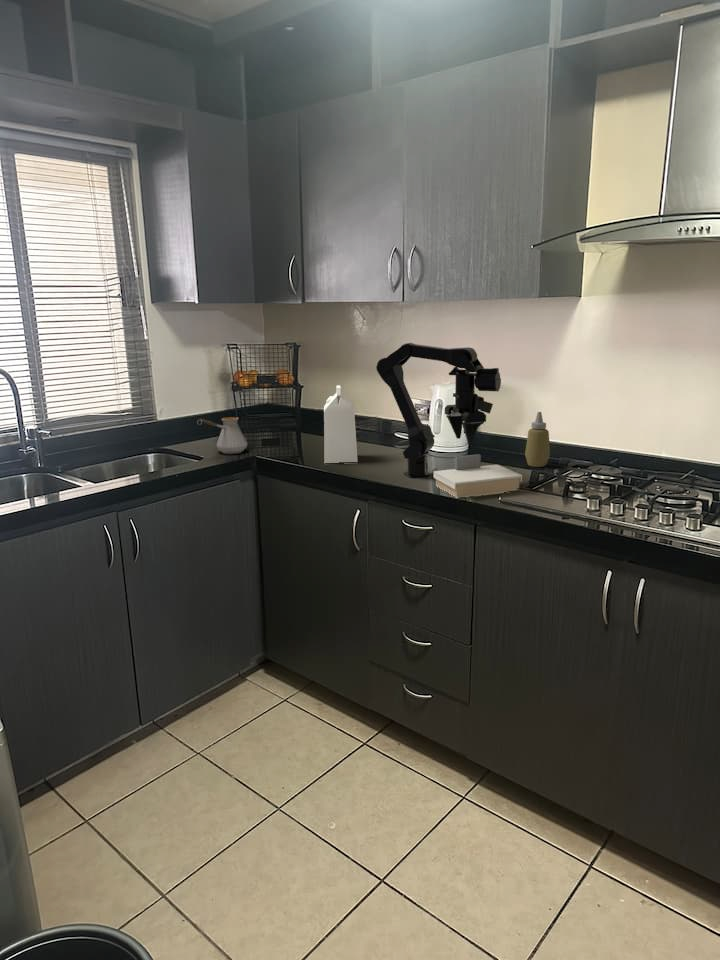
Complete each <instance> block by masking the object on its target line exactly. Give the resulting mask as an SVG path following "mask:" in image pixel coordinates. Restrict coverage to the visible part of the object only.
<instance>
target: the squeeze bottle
mask: <svg viewBox="0 0 720 960" xmlns="http://www.w3.org/2000/svg"><path fill="white" fill-rule="evenodd" d="M543 420H544V419H543V414H542V411H538V412H537V414H536V417H535V420H534V421H533V422H531V428H530V429H529V430H528V432H527V437H526V445H525V450H524V451H525V452H524V456H525V459H526V462H527V465H528V466H530V467H534V468H542V467H546V466H547V464H548V461H549V459H550V456H551V451H550V450H551V449H550V431H549V430H548V429H547V423H546V422H544V421H543ZM545 465H546V466H545Z"/></svg>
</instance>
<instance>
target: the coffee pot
mask: <svg viewBox="0 0 720 960" xmlns="http://www.w3.org/2000/svg"><path fill="white" fill-rule="evenodd" d="M239 420H240V418H239V417H237V416H236V417H234V416H229V417H223V418H221V420H220V421H222V425H221V424H219V423H215V422H212V421H210V420H206V419H203V418H199V419H197V424H198V425H201V424H207V425H210V426H214V427H217V428H221V431H220V434H219V437H218V440H217V443H216V448H217V450H219V451H220V452H221V454H225V455H233V454H235V455H236V454H241V453H242V452H244V450H245V449H246V448H247V447H248V442H247V440H246V438H245V436H244V434H243V432H242V430H241V428H240V426H239V424H238V421H239ZM199 421H200V424H199Z"/></svg>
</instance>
